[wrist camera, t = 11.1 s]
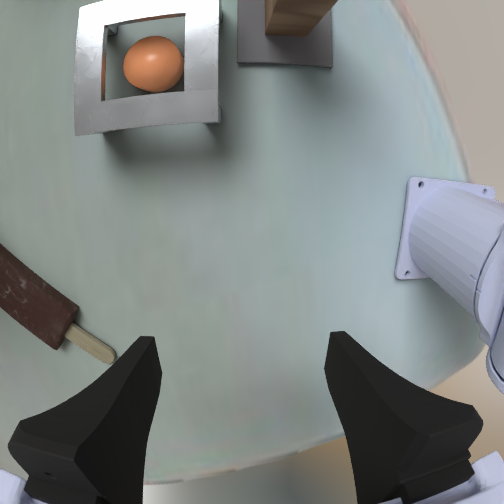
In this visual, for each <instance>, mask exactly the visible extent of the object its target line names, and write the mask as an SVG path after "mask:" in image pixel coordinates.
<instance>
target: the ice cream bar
mask: <svg viewBox="0 0 504 504" xmlns="http://www.w3.org/2000/svg"><path fill="white" fill-rule="evenodd" d="M0 307H1V308H2V309H3V310H4V311H5V312H7V313H8V314H9V315H10V316H11V317H13V318H14V319H15V320H16V321H17V322H19V323H20V324H21V325H22V326H24V327H25V328H26V329H28V330H29V331H30V332H31V333H33V334H34V335H35V336H37V337H38V338H39V339H41V340H42V341H43V342H45V343H46V344H47V345H49V346H50V347H52V348H53V349H55V350H58V348H59V347H60V345H61V344H62V342H63V340H64V339H65V337H66V338H67V339H69V340H70V341H72V342H73V343H74V344H76V345H77V346H79V347H80V348H82V349H83V350H85V351H86V352H88V353H89V354H91V355H93V356H94V357H96V358H97V359H99V360H100V361H102V362H104V363H112V362H113V360H114V358H115V352H114V350H113V349H112V348H110V347H109V346H107V345H106V344H104V343H103V342H101V341H100V340H98V339H97V338H95V337H94V336H92V335H91V334H89V333H88V332H86V331H85V330H83V329H82V328H80V327H79V326H77V325H76V324H74V323H73V321H74V319H75V317H76V315H77V312H78V308H79V306H78V305H76V304H75V303H74V302H72V301H71V300H69V299H68V298H67V297H65V296H64V295H63V294H61V293H60V292H59V291H57V290H56V289H55V288H53V287H52V286H51V285H49V284H48V283H47V282H46V281H44V280H43V279H42V278H41V277H39V276H38V275H37V274H36V273H34V272H33V271H32V270H31V269H29V268H28V267H27V266H26V265H24V264H23V263H22V262H21V261H20V260H19V259H17V258H16V257H15V256H14V255H13V254H12V253H10V252H9V251H8V250H7V249H6V248H5V247H4V246H2V245H1V244H0Z"/></svg>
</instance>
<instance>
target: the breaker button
mask: <svg viewBox="0 0 504 504" xmlns="http://www.w3.org/2000/svg"><path fill="white" fill-rule="evenodd" d="M123 69H124V74H125V76H126V78H127V80H128V81H129V82H130V83H131V84H132V85H134V86H136V87H138V88H141V89H143V90H146V91H148V92H154V93H156V92H163V91H166V90H168V89H170V88H172V87H173V86H174V85H175V84H177V82H178V81H179V80H180V78H181V77H182V75H183V72H184V58H183V56H182V54H181V52H180V51H179V50H178V48H177V47H176V46H175V44H174V43H173V42H172V41H170V40H169V39H167V38H165V37H161V36H150V37H146V38H143V39H141V40H139V41H138V42H136V43H135V44H134V45H133V46H132V47H131V48H130V49H129V51H128V52H127V54H126V56H125V59H124V64H123Z"/></svg>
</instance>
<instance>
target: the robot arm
mask: <svg viewBox="0 0 504 504" xmlns="http://www.w3.org/2000/svg"><path fill="white" fill-rule="evenodd" d="M420 181H421V186H420V187H418V184H419V182H420ZM483 190H484V192H483ZM494 199H495V188H494V187H492V186H487V185H480V184H473V183H465V182H457V181H449V180H441V179H432V178H422V177H411V178H410V179H409V180H408V185H407V195H406V204H405V212H404V220H403V227H402V234H401V240H400V247H399V253H398V259H397V264H396V270H395V276H396V277H397V278H398V279H400V280H404V279H419V278H431V279H433V280H434V281H435V282H436V283H437V284H438V285H439V286H440V287H441V288H443V289H444V290H445V291H446V292H447V293H448V294H449V295H450V296H451V297H452V298H453V299H454V300H455V301H457V302H458V303H459V304H460V305H461V306H462V307H463V308H464V309H465V310H466V311H467V312H468V313H469V314H470V315H471V316H472V317H473V318H474V319H475V320H476V321H477V322H478V323H479V324H480V328H481V329H480V335H479V337H480V338H481V339H482V340H483V341H484V342H485V343H486V344H487V345H488V346H489V350H488V353H487V356H486V368H487V372H488V375H489V377H490V378H491V380H492V382H493V383H494V385H495V386H496V387H497V388H498V389H499V390H500V391H501V392H502V393H503V394H504V203H502V202H499V201H497V200H494ZM406 271H408V273H407V274H406V275H405V272H406ZM324 370H325V375H326V379H327V384H328V388H329V391H330V394H331V397H332V399H333V402H334V405H335V407H336V410H337V413H338V415H339V418H340V421H341V424H342V426H343V429H344V432H345V436H346V439H347V444H348V448H349V453H350V457H351V463H352V468H353V473H354V480H355V486H356V494H357V503H358V504H504V461H503V460H502V458H501V456H500V455H499V453H498V451H494V452H492V453H490V454H488V455H486V456H484V457H482V458H480V459H478V460H476V461H475V462H474V463H472V464H470V462H469V460H468V459H469V458H470V457H471V454H470V452H469V450H468V448H469V447H470V446H471V444H472V443H473V442H474V441H475V439H476V438H477V436H478V435H479V433H480V432H481V430H482V426H483V420H482V419H481V417H480V416H479V414H478V413H477V411H476V410H475V408H474V407H473V405H468V404H464V403H461V402H457V401H453V400H450V399H447V398H444V397H442V396H439V395H436V394H434V393H431V392H429V391H427V390H425V389H423V388H421V387H419V386H417V385H415V384H413V383H411V382H409V381H408V380H406V379H404V378H403V377H401V376H399V375H398V374H396V373H395V372H393V371H392V370H391V369H389V368H388V367H386V366H385V365H384V364H382V363H381V362H380V361H379V360H377V359H376V358H375V357H374V356H372V355H371V354H370V353H369V352H368V351H367V350H365V349H364V348H363V347H362V346H361V345H360V344H359V343H357V342H356V341H355V340H354V339H353V338H352V337H351V336H350V335H349V334H347V333H346V332H345V331H338V332H330V338H329V344H328V350H327V356H326V361H325V367H324ZM161 378H162V370H161V366H160V361H159V357H158V352H157V347H156V343H155V338H154V337H152V336H140V337H139V338H138V339H137V340H136V341H135V342H134V343H133V344H132V345H131V346H130V347H129V348H128V349H127V351H126V352H125V353H124V354H123V355H122V356H121V357H120V358H119V359H118V360H117V361H116V362H115V363H114V364H113V365H112V366H111V367H110V368H109V369H108V370H107V371H106V372H104V373H103V374H102V375H101V376H100V377H99V378H98V379H97V380H95V381H94V382H93V383H92V384H90V385H89V386H88V387H86V388H85V389H84V390H82V391H81V392H79V393H78V394H76V395H75V396H73V397H71V398H70V399H68V400H67V401H65V402H63V403H61V404H60V405H58V406H56V407H54V408H52V409H50V410H47V411H45V412H43V413H40V414H38V415H35V416H32V417H30V418H27V419H24V420H21V421H20V422H19V424H18V425H17V427H16V429H15V431H14V433H13V435H12V437H11V439H10V441H9V443H8V449H9V452H10V454H11V455H12V456H13V458H14V459H15V460H16V461H17V463H18V464H19V465H20V466H21V467H22V468H23V469H24V470H25V471H26V472H27V474H28V475H29V477H28V480H27V481H26V480H24V479H23V478H21V477H19V476H17V475H15V474H12V473H10V472H7V471H5V470H3V469H0V504H143V478H144V465H145V456H146V447H147V441H148V436H149V432H150V428H151V424H152V420H153V416H154V413H155V409H156V405H157V401H158V397H159V394H160V386H161Z"/></svg>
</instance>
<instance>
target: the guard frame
mask: <svg viewBox="0 0 504 504" xmlns="http://www.w3.org/2000/svg"><path fill="white" fill-rule="evenodd" d="M181 16H186V24H185V62H184V91H181V92H169V93H158V94H149V95H141V96H133V97H125V98H119V99H112V100H106V101H105V70H106V47H107V36H110V35H115V34H117V26H120V25H125V24H130V23H136V22H142V21H148V20H155V19H163V18H171V17H181ZM219 22H222V5H221V0H106V1H102V2H98V3H94V4H91V5H87V6H84V7H80V13H79V21H78V31H77V42H76V57H75V81H74V119H75V136H79V135H89V134H100V133H108V132H115V130H120V129H129V128H138V127H147V126H158V125H171V124H186V123H203V124H219V123H221V107H220V105H219V103H218V77H219Z"/></svg>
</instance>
